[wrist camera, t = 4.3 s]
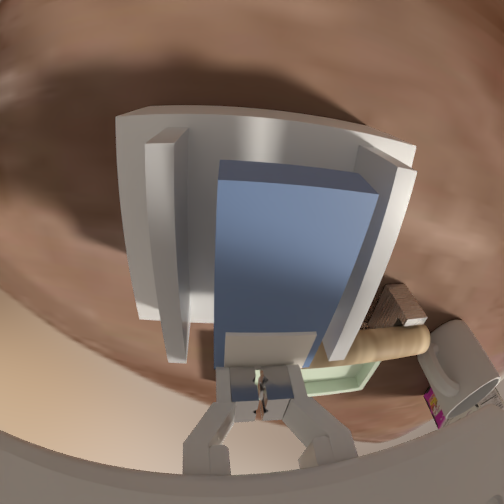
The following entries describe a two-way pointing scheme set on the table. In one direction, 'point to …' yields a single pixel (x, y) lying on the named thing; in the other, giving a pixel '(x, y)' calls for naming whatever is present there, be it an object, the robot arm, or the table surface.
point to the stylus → (379, 346)
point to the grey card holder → (205, 203)
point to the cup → (457, 368)
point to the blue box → (283, 258)
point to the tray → (335, 378)
